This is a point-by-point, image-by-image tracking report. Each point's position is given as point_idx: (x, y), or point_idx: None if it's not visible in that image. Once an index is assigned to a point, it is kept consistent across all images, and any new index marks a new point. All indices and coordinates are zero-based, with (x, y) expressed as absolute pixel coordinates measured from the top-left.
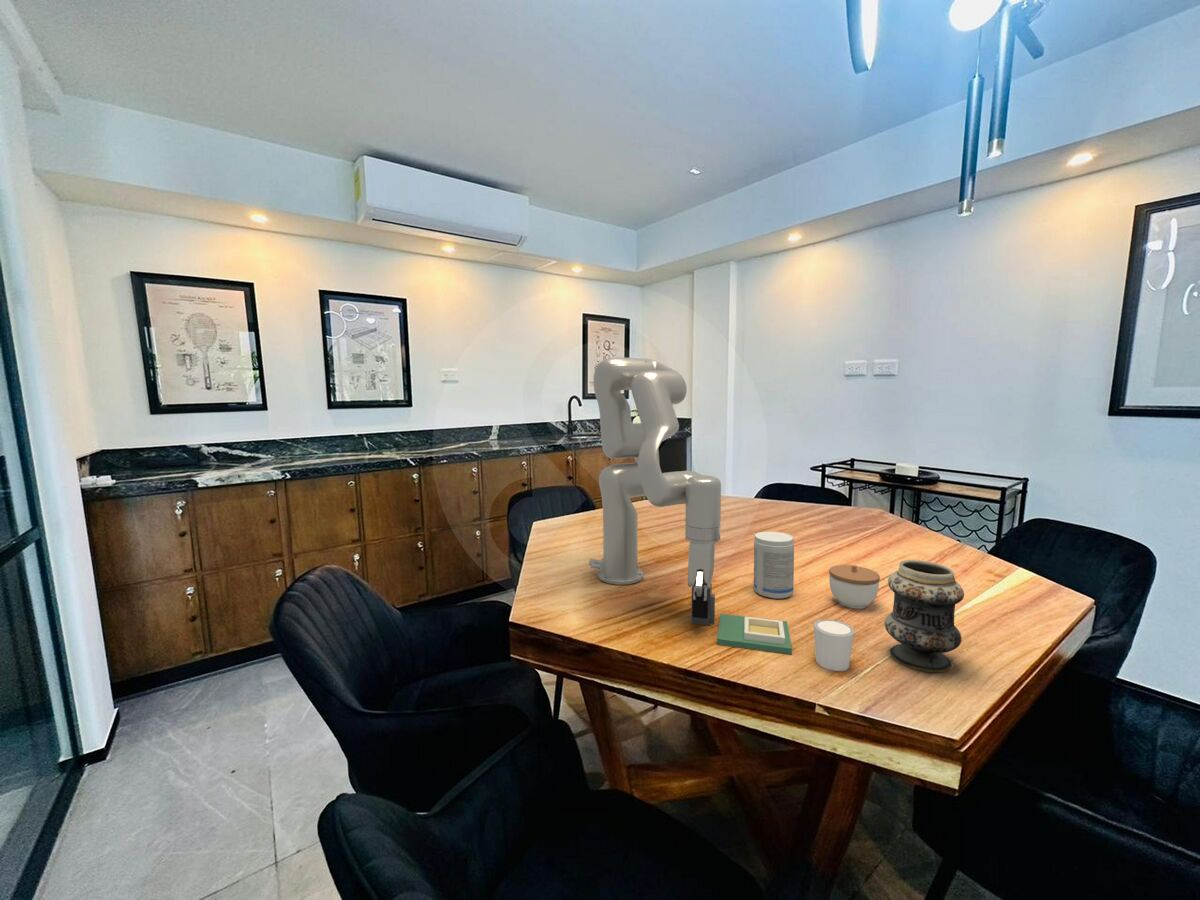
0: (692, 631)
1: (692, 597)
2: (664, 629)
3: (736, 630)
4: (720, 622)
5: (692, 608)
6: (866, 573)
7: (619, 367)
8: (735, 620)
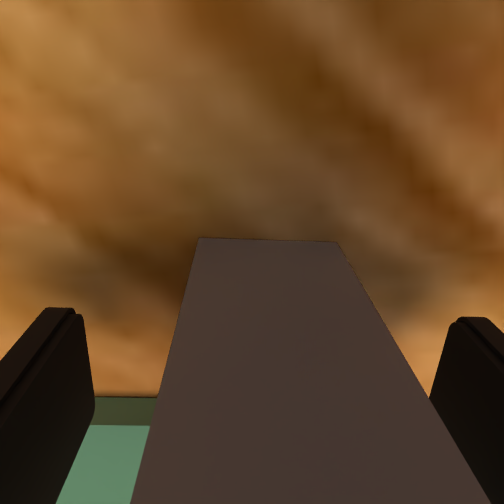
0: (72, 253)
1: (165, 389)
2: (6, 20)
3: (103, 501)
4: None
5: (5, 355)
6: None
7: None
8: None
